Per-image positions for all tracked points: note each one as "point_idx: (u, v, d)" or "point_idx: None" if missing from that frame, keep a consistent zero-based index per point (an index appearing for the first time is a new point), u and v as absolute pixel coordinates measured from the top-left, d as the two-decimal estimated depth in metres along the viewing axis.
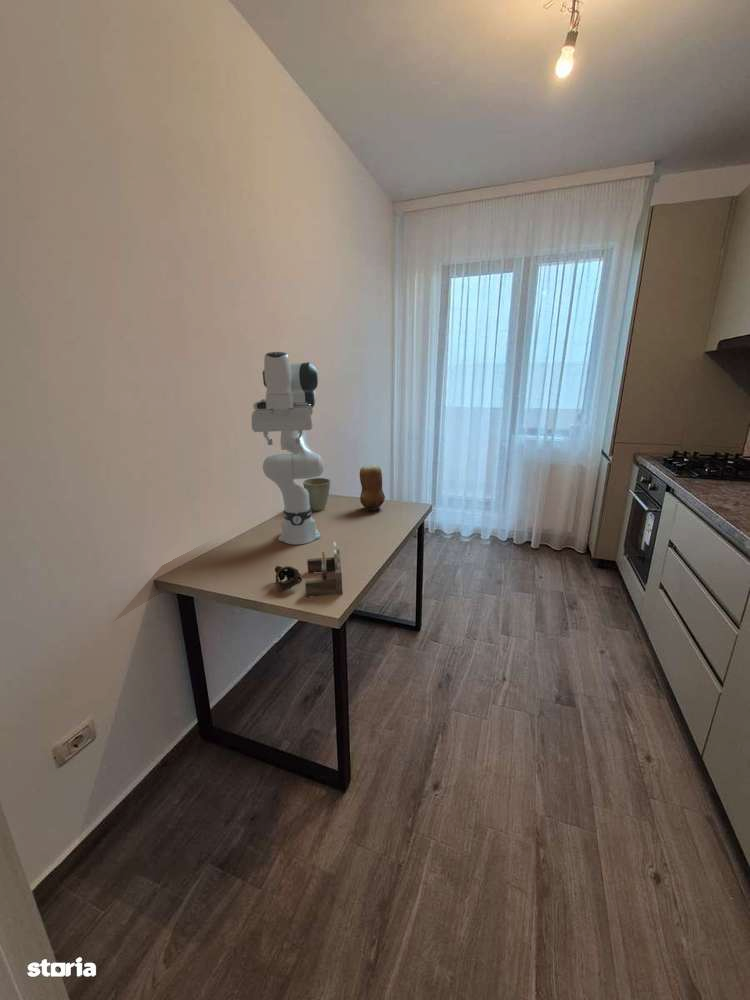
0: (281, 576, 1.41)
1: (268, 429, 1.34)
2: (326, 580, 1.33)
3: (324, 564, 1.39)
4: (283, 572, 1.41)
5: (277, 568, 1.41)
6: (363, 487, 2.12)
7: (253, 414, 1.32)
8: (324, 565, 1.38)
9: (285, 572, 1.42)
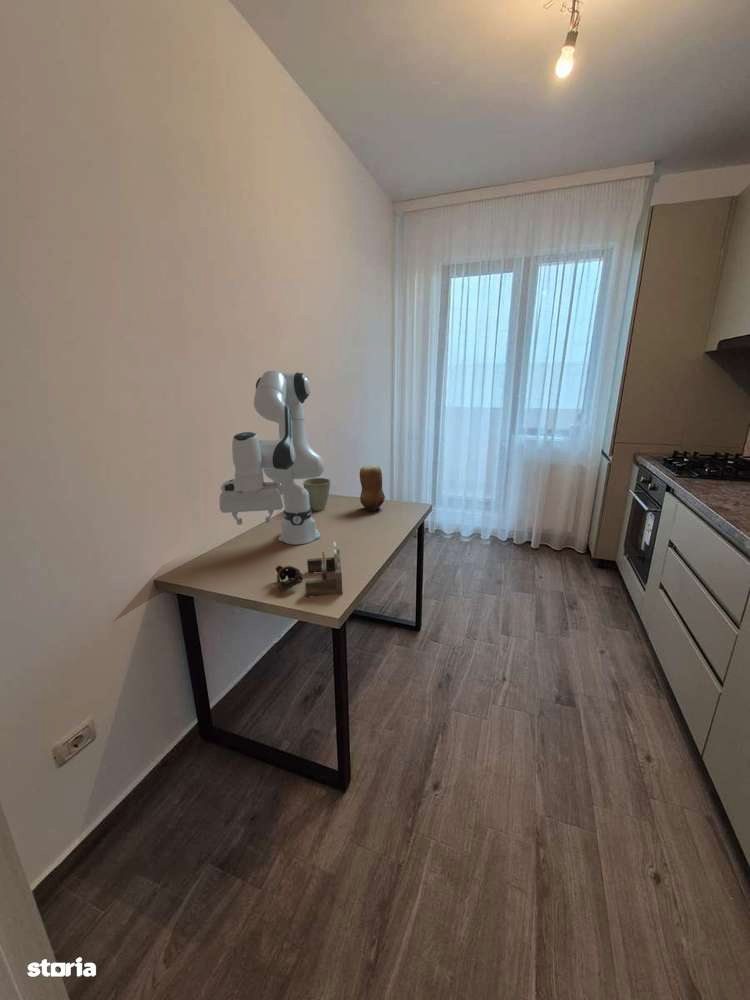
0: (282, 576, 1.42)
1: (237, 510, 1.30)
2: (326, 580, 1.33)
3: (324, 564, 1.39)
4: (284, 572, 1.42)
5: (278, 568, 1.41)
6: (363, 487, 2.12)
7: (221, 496, 1.28)
8: (324, 565, 1.38)
9: (286, 572, 1.42)
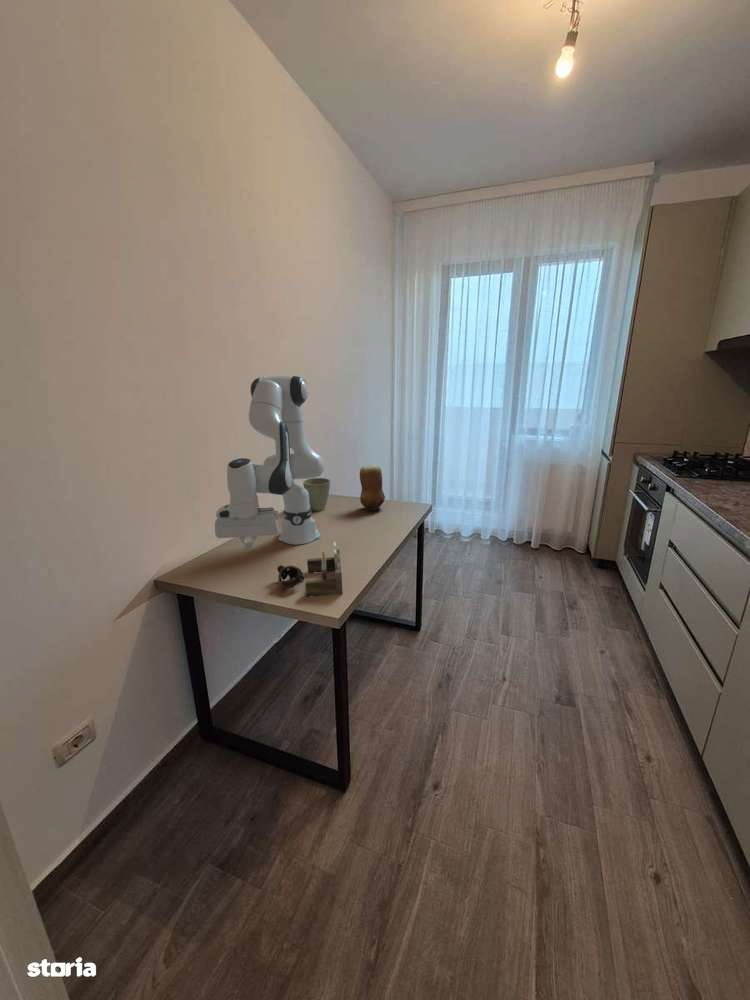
0: (283, 576, 1.42)
1: (232, 535, 1.31)
2: (326, 580, 1.33)
3: (324, 564, 1.39)
4: (286, 571, 1.42)
5: (280, 567, 1.41)
6: (363, 487, 2.12)
7: (216, 522, 1.29)
8: (324, 565, 1.38)
9: (288, 571, 1.42)
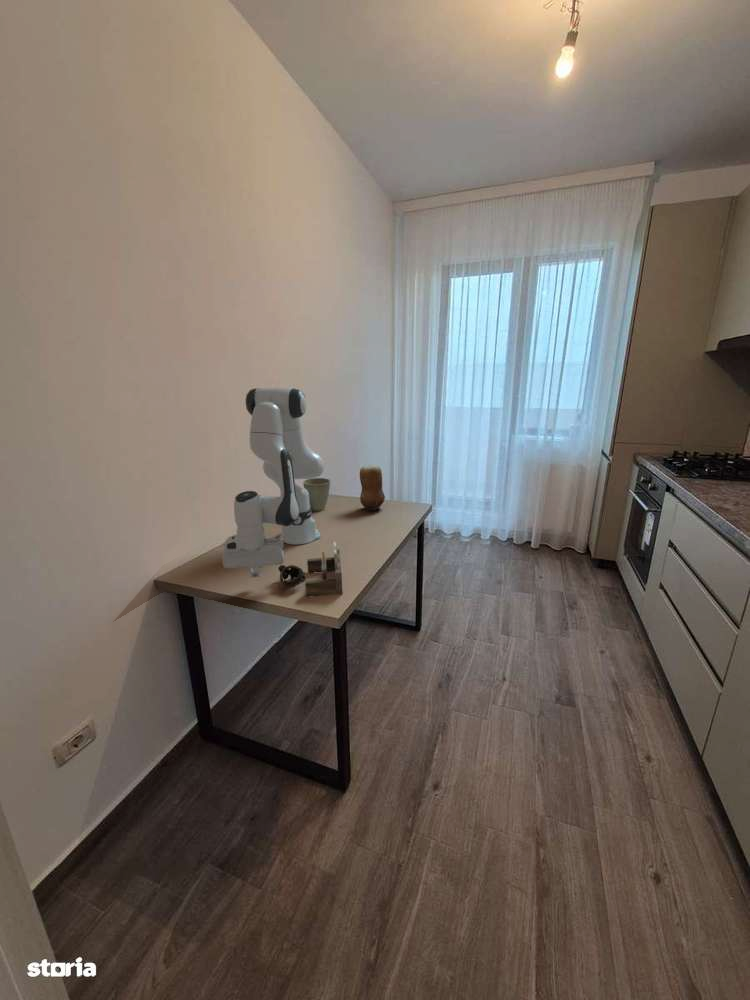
0: (284, 575, 1.42)
1: (239, 565, 1.35)
2: (326, 580, 1.33)
3: (324, 564, 1.39)
4: (287, 571, 1.42)
5: (281, 567, 1.41)
6: (363, 487, 2.12)
7: (223, 553, 1.32)
8: (324, 565, 1.38)
9: (289, 571, 1.43)
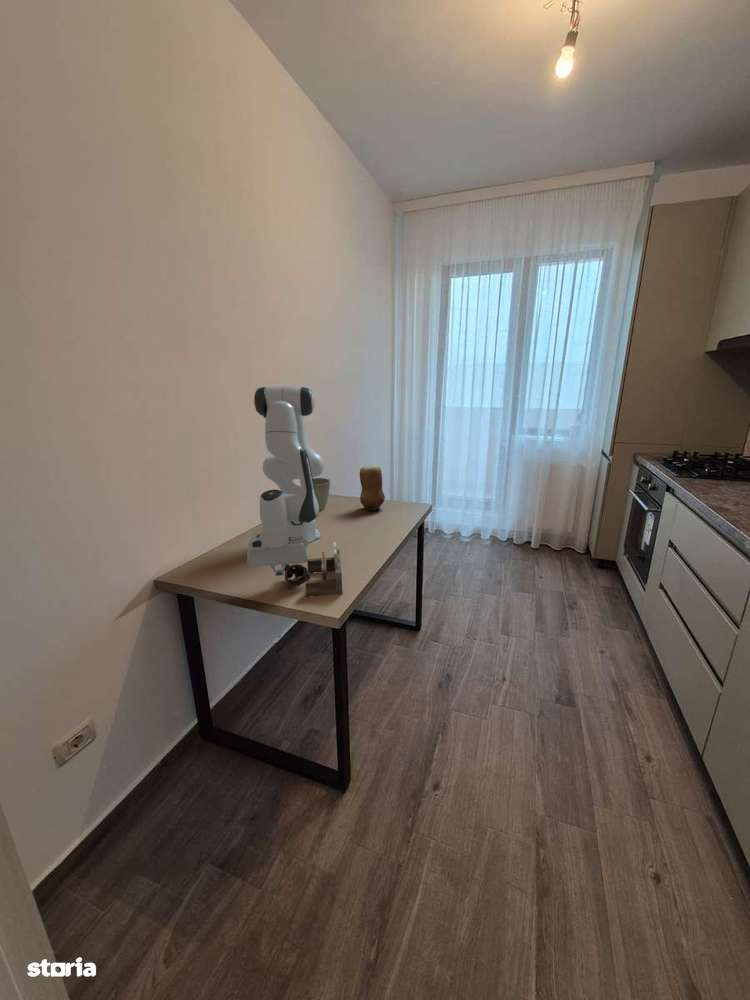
0: (289, 574, 1.43)
1: (263, 563, 1.35)
2: (326, 580, 1.33)
3: (324, 564, 1.39)
4: (291, 570, 1.43)
5: None
6: (363, 487, 2.12)
7: (249, 551, 1.33)
8: (324, 565, 1.38)
9: (293, 570, 1.43)
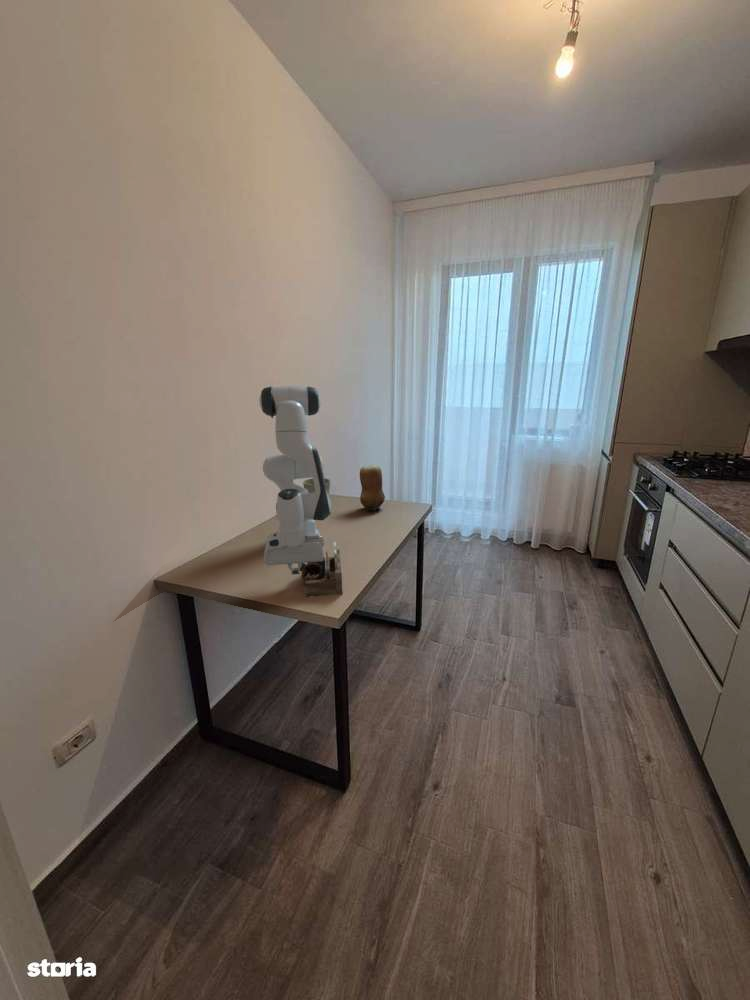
0: (304, 573, 1.43)
1: (280, 562, 1.36)
2: (326, 580, 1.33)
3: (327, 564, 1.39)
4: (307, 568, 1.43)
5: None
6: (363, 487, 2.12)
7: (266, 550, 1.34)
8: (327, 565, 1.38)
9: (308, 568, 1.44)
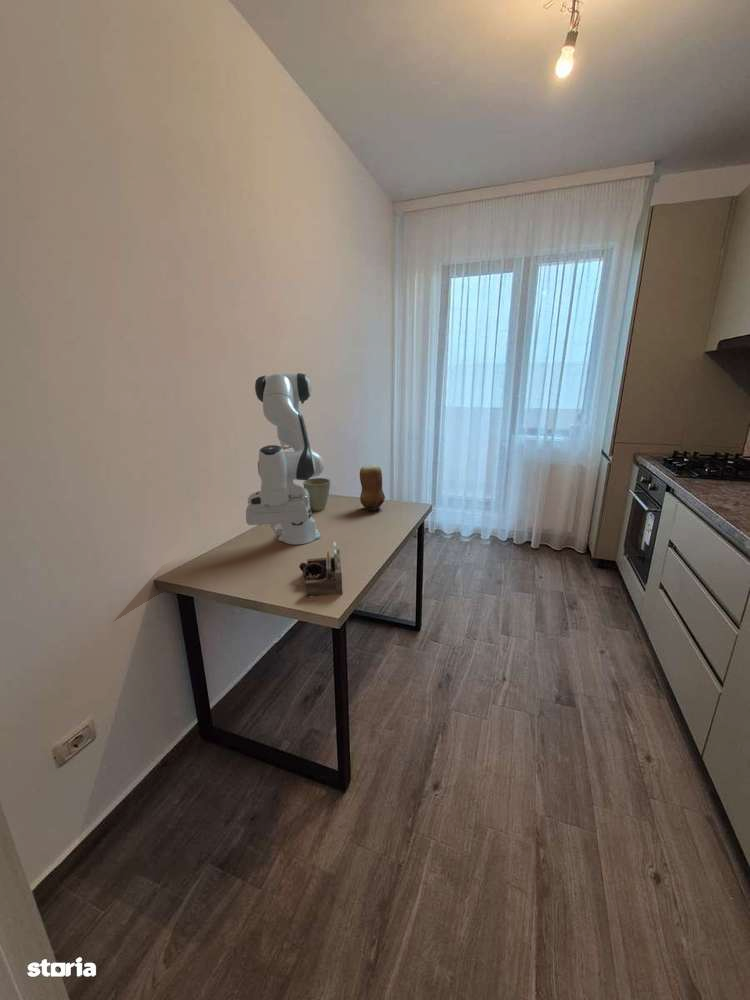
0: (306, 573, 1.44)
1: (263, 522, 1.31)
2: (326, 580, 1.33)
3: (329, 564, 1.39)
4: (308, 568, 1.44)
5: (302, 565, 1.43)
6: (363, 487, 2.12)
7: (247, 509, 1.29)
8: (329, 564, 1.38)
9: (310, 568, 1.44)
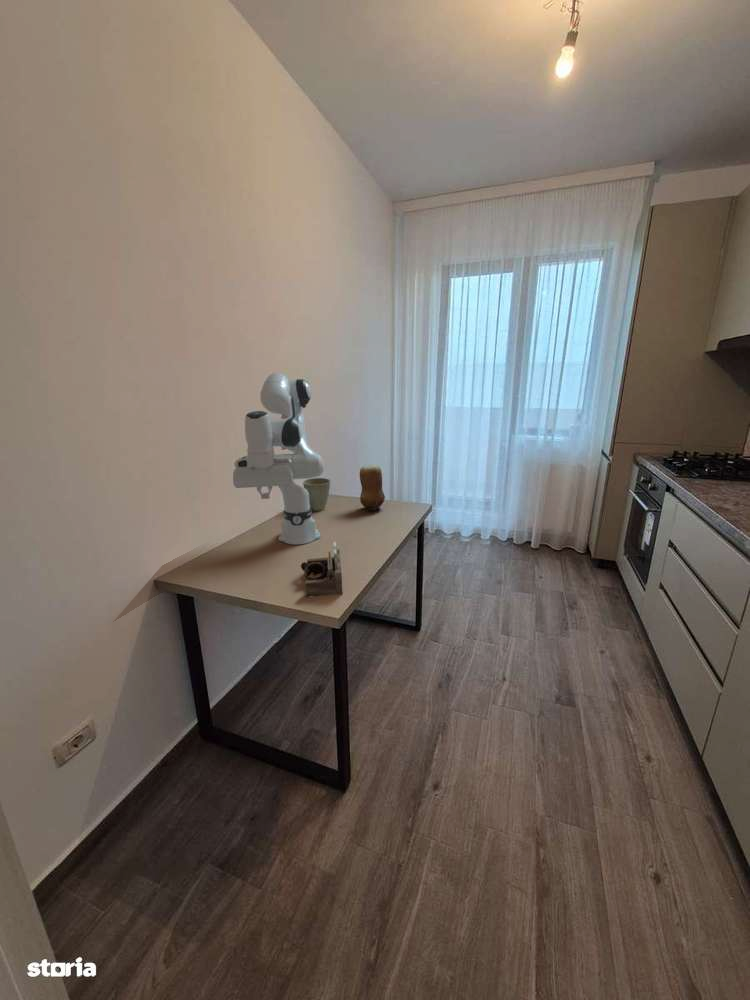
0: (307, 572, 1.44)
1: (249, 485, 1.38)
2: (326, 580, 1.33)
3: (330, 564, 1.39)
4: (309, 568, 1.44)
5: (304, 564, 1.43)
6: (363, 487, 2.12)
7: (234, 471, 1.35)
8: (330, 564, 1.38)
9: (311, 568, 1.45)
